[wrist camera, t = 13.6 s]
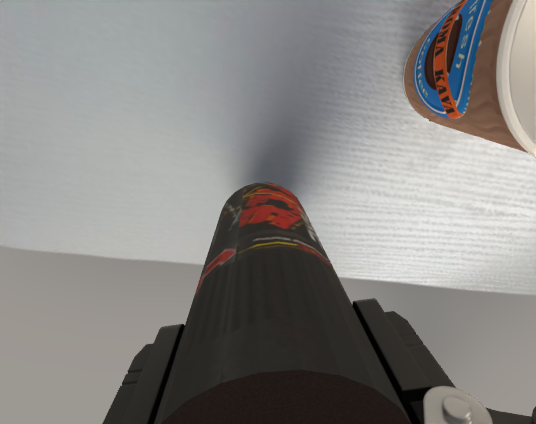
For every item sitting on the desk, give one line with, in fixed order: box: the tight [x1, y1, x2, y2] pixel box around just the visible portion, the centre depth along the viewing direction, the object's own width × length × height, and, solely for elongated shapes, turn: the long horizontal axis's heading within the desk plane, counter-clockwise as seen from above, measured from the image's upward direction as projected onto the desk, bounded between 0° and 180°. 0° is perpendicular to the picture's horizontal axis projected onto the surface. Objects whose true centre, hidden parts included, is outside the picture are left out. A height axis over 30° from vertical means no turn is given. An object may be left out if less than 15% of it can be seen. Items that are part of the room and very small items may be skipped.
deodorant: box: [154, 183, 412, 424], centre depth 14 cm, size 6×6×15 cm
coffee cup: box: [403, 0, 536, 158], centre depth 17 cm, size 10×10×12 cm
